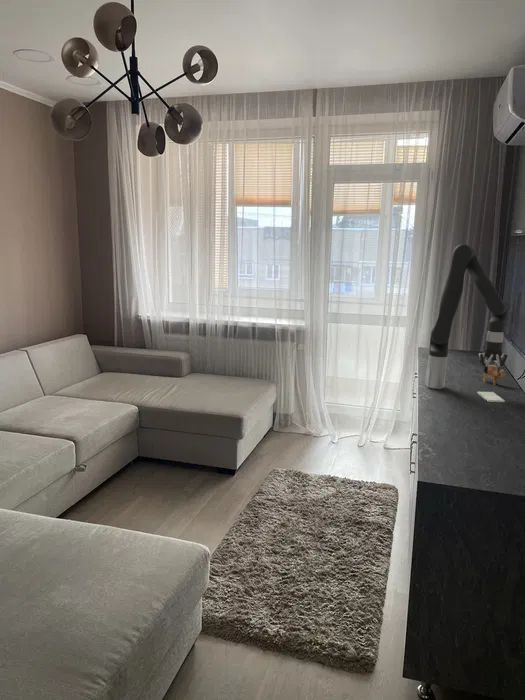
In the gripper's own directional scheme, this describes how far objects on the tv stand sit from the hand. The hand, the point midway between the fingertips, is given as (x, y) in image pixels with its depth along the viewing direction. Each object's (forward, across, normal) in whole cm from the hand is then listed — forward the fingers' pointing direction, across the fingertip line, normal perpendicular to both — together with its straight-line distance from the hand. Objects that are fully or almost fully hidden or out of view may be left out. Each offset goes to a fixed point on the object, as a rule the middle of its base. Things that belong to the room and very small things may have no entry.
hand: (490, 373), depth 254 cm
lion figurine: (+12, +11, +23) cm, 28 cm away
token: (+1, 0, 0) cm, 1 cm away
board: (+12, 0, -4) cm, 12 cm away
